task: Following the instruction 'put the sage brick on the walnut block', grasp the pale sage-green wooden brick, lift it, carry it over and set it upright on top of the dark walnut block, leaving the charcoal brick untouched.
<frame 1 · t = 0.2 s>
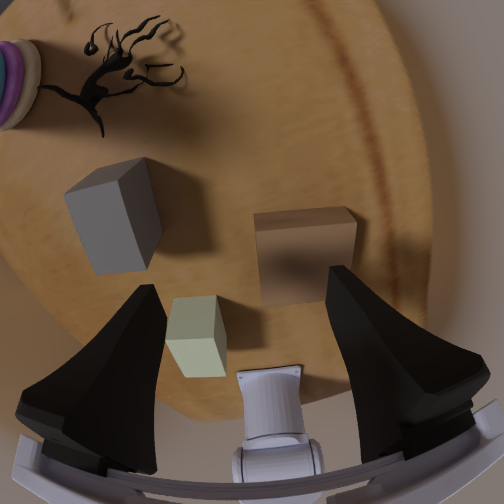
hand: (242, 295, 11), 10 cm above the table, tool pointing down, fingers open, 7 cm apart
stacking toy: (15, 83, 12), on the table
creature: (131, 61, 13), on the table
charcoal brick: (130, 199, 19), on the table
walnut block: (299, 246, 22), on the table
sage brick: (201, 318, 26), on the table
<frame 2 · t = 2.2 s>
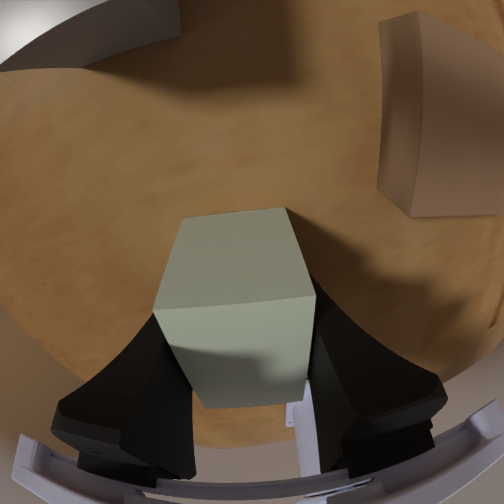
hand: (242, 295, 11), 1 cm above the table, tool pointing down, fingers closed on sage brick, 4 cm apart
walnut block: (441, 115, 8), on the table
sage brick: (241, 273, 12), on the table, touching gripper
when the fingers open (6 cm above the table, at t = 5.1 s): sage brick drops 2 cm, point 3 cm above the table.
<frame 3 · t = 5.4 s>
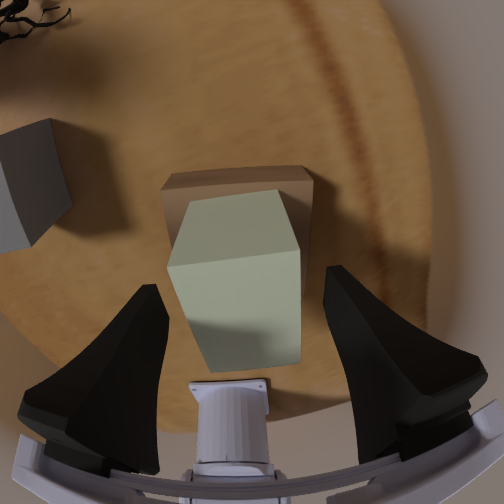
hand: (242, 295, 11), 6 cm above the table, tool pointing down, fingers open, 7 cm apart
creature: (36, 7, 6), on the table
charcoal brick: (39, 170, 13), on the table
walnut block: (240, 222, 16), on the table
sage brick: (242, 250, 14), point 3 cm above the table
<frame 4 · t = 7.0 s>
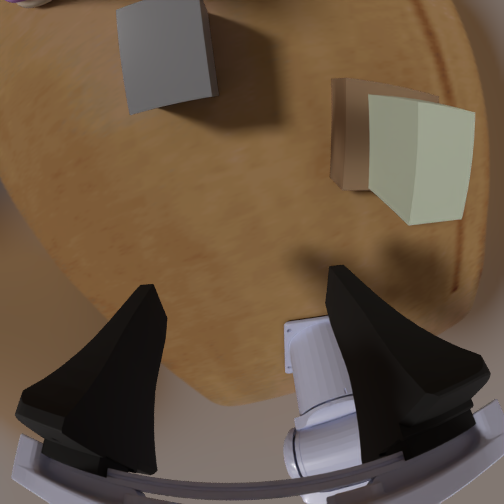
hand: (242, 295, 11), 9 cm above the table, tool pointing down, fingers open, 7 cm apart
charcoal brick: (181, 58, 13), on the table
walnut block: (374, 130, 16), on the table, touching sage brick
sage brick: (396, 142, 14), point 3 cm above the table, touching walnut block
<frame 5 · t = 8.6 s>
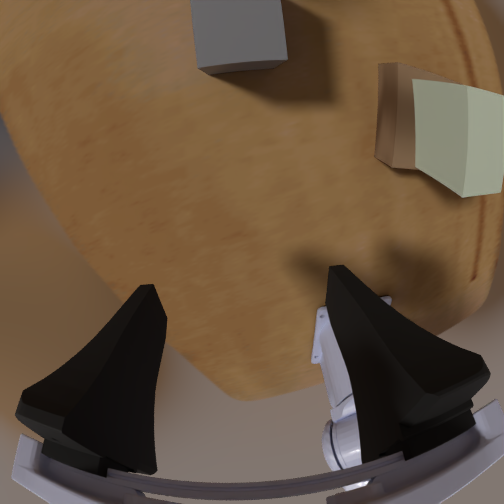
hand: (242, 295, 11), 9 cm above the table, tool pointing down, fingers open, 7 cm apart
charcoal brick: (236, 29, 12), on the table
walnut block: (413, 116, 16), on the table, touching sage brick
sage brick: (437, 124, 13), point 3 cm above the table, touching walnut block
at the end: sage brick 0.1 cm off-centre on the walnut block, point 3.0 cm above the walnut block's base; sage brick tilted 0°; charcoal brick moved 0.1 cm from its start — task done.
